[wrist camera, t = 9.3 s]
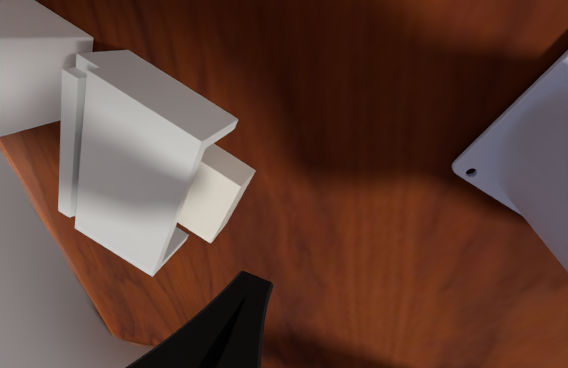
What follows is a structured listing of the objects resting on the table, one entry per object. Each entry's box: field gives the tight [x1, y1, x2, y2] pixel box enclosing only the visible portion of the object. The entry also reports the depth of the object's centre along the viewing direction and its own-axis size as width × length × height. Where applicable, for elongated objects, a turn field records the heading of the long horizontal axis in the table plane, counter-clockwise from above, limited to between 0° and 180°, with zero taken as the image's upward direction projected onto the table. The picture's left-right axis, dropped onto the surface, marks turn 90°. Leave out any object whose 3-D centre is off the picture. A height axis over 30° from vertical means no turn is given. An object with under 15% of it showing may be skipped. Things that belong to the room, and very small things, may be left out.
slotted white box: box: [58, 50, 238, 276], centre depth 20 cm, size 8×13×4 cm, turn 152°
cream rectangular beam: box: [177, 143, 256, 243], centre depth 20 cm, size 10×6×2 cm, turn 61°
